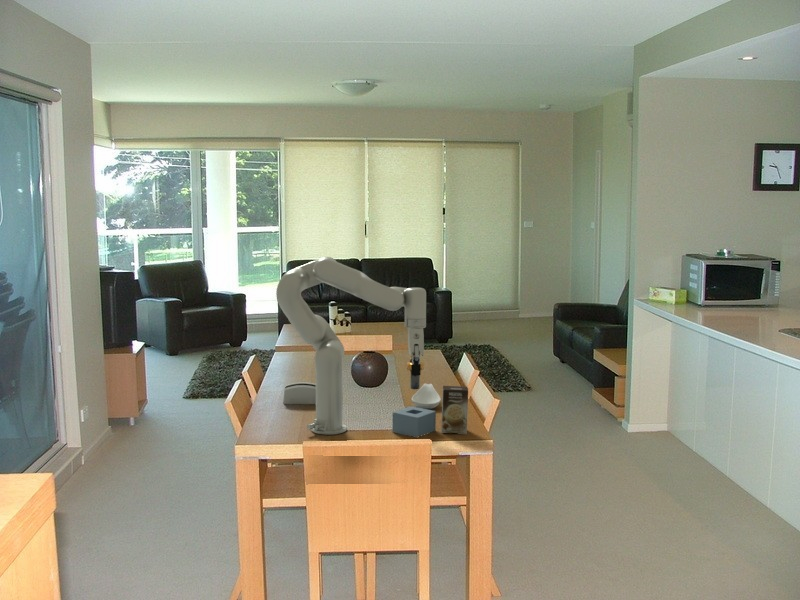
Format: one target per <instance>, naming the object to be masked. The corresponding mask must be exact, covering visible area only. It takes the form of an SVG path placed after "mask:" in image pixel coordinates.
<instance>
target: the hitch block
mask: <svg viewBox="0 0 800 600" xmlns="http://www.w3.org/2000/svg"><path fill="white" fill-rule="evenodd" d="M436 411H437V410H432V409H423V408H418V407H417V406H410V405H409V406H407V407H404V408H401V409H399V410H396V411H393V412H392V429H391V430H392V433H394V434H395V433H396V434H399V435H403V436H407V435H410V436H409V437H411V436H415V437H414V438H416V437H418V436H421V435H424V434H426V435H428V434H427V433H429V434H431V433H433V432H432V431H434V432H436V427H437V426H436V423H437V421H436V418H437V414H436V413H437V412H436ZM430 432H431V433H430ZM424 436H425V435H424ZM421 437H422V436H421Z"/></svg>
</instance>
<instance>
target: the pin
mask: <svg viewBox="0 0 800 600" xmlns="http://www.w3.org/2000/svg"><path fill="white" fill-rule="evenodd" d="M411 364H412V362H410V361H409V362H406V369H407V371H410V370H411ZM420 364H421V371H423V370H424V369H425V368H424V367H425V366H424V365H425V363H424V362H421V361H420ZM420 377H421V375H419V376H412V375H411V374H410V389H412V390H419V389H420V388H421V386H420Z"/></svg>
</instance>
